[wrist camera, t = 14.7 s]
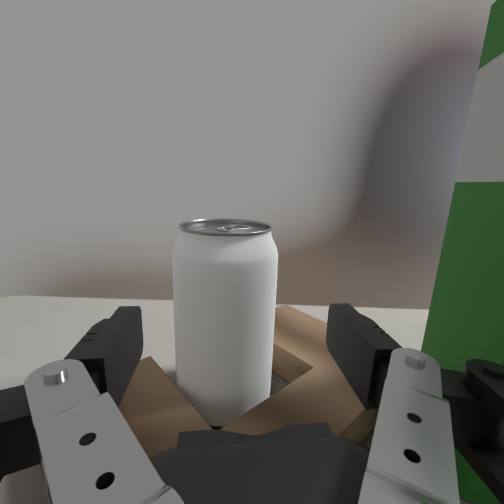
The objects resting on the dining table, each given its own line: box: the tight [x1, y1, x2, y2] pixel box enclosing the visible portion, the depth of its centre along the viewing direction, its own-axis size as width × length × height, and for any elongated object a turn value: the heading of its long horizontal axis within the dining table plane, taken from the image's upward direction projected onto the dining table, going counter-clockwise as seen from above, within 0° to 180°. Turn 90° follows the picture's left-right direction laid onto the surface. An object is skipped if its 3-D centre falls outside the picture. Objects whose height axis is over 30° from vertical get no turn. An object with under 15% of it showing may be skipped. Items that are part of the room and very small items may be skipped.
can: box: [172, 219, 278, 428], centre depth 19 cm, size 6×6×12 cm
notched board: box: [118, 305, 379, 458], centre depth 18 cm, size 20×12×2 cm, turn 131°
